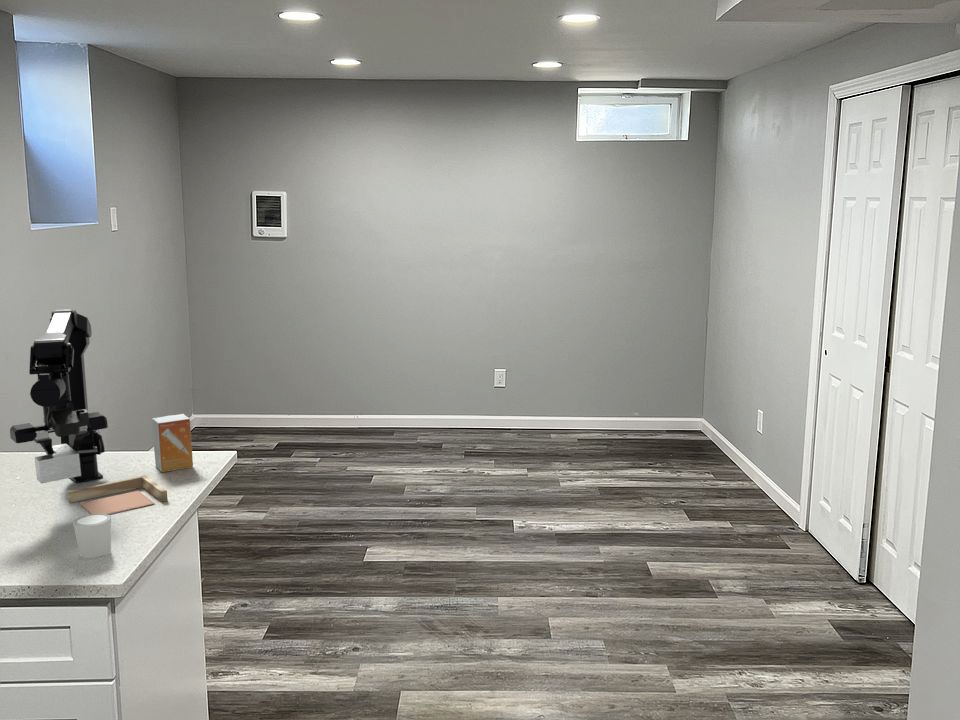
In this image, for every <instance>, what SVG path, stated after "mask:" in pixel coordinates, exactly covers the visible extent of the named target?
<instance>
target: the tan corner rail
mask: <svg viewBox="0 0 960 720" xmlns="http://www.w3.org/2000/svg"><path fill="white" fill-rule="evenodd" d="M136 488H137V489H141V488H143V489H144V488H145V490H146V491H147V492H148V493H149V494H151V495H152V496H154V497H155V498H156V499H158V500H159V501H160V502H162V503H165V502H168V501H169V500H168V499H169V498H168V490H167V489H165V488H164V487H163V486H161V485H160V484H158V483H157V482H155V481H154V480H153V479H151V478H150V477H149V476H147V475H146V474H143V475H138V476H134V477H129V478H124V479H119V480H116V481H115V480H114V481H110V482H104V483H101V484H100V483H99V484H95V485H91V486H90V485H89V486H86V487H81V488H75V489H70V490H67V493H68V494H67V495H68V503H70V504H72V503H77V502H81V501H86V500H89V499H93V498H94V499H95V498H99V497H103V496H108V495H113V494H117V493H122V491H123V492H127V490H128V491H132V490H136Z"/></svg>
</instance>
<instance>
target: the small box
mask: <svg viewBox="0 0 960 720" xmlns="http://www.w3.org/2000/svg"><path fill="white" fill-rule="evenodd" d="M151 424H152V425H151V426H152V437H153V451H154V461H155V468H157V469H158V470H159V471H160V473H166V472H170V471H178V470H185V469H190V468H193V467H194V464H193V463H194V461H193V459H194V458H193V445H192V433H191V418H190V417H188V416H187V415H186V414H184V413H180V414H173V415H172V414H171V415H166V416H165V415H164V416H159V417H152V418H151Z"/></svg>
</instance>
